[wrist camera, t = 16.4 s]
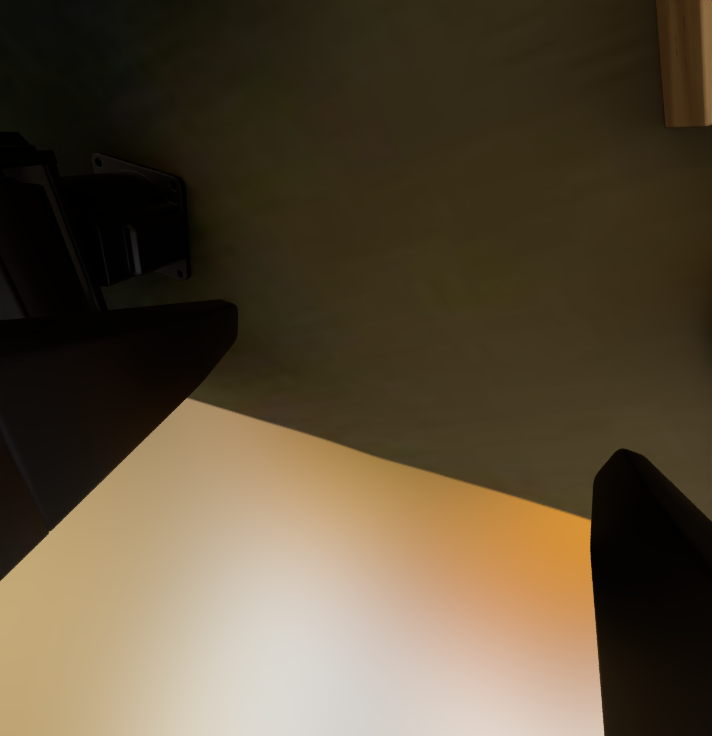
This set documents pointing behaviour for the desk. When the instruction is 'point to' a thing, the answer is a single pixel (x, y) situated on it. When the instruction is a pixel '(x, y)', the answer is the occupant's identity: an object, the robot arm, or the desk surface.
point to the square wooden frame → (686, 61)
